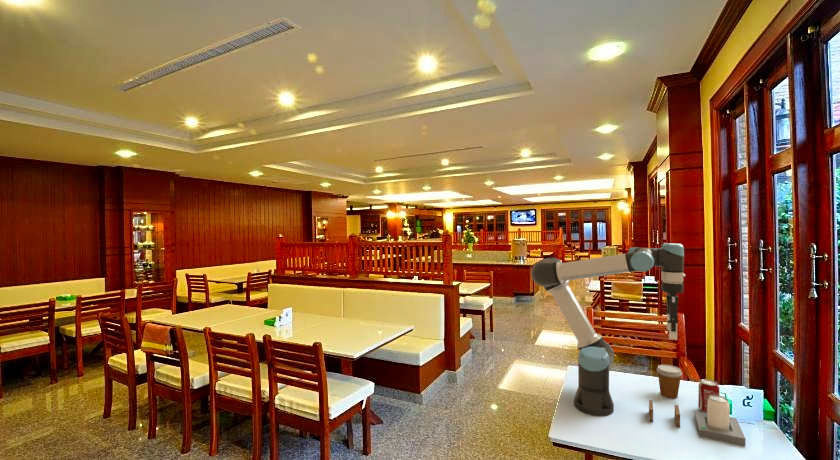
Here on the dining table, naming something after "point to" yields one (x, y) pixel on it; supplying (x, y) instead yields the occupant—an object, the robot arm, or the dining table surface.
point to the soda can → (706, 393)
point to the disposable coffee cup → (669, 380)
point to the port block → (719, 430)
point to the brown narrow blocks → (677, 413)
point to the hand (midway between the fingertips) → (671, 334)
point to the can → (718, 412)
